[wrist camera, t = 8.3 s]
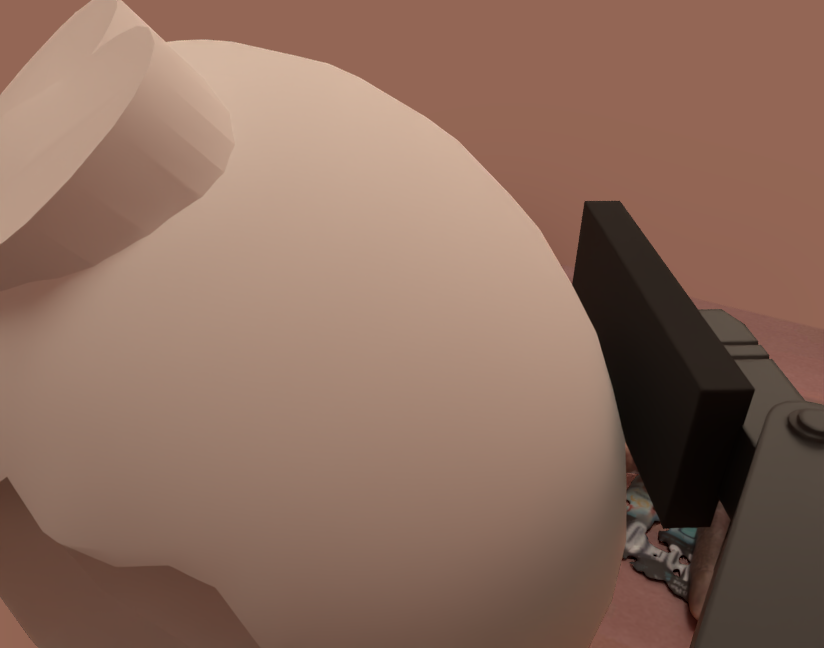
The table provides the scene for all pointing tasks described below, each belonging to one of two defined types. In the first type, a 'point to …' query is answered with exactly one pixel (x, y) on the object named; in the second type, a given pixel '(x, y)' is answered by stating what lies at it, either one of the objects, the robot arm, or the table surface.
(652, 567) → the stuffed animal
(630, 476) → the table surface
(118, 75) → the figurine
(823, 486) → the robot arm
